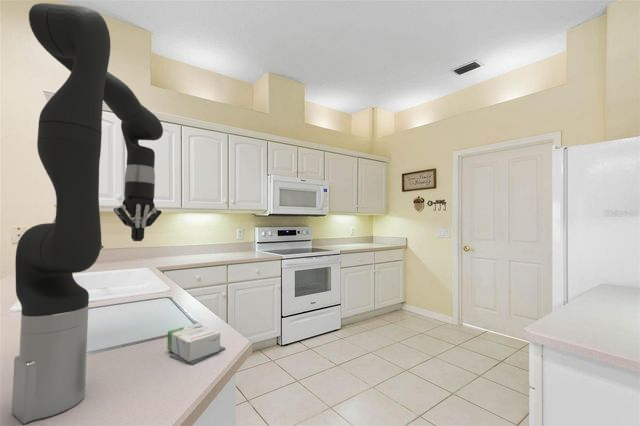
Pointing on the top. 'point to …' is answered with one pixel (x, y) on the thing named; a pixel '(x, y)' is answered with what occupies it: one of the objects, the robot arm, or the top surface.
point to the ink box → (193, 341)
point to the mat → (195, 359)
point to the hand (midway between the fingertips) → (137, 241)
